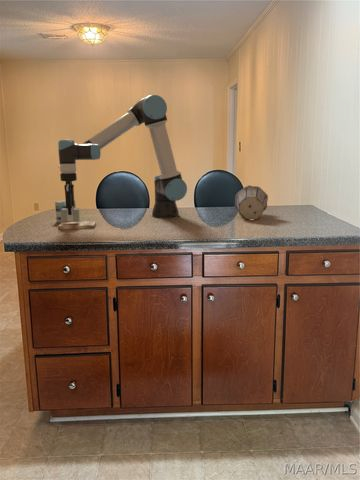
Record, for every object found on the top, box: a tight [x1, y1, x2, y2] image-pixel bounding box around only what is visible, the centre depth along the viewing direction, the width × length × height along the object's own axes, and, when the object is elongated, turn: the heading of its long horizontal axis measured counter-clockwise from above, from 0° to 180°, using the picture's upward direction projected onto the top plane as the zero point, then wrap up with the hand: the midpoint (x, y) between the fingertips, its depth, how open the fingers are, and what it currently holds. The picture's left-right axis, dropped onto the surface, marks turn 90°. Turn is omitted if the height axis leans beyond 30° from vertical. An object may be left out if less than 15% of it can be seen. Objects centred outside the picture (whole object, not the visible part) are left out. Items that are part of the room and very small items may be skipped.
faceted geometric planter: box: [234, 185, 269, 220], centre depth 229 cm, size 18×18×30 cm
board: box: [57, 220, 97, 230], centre depth 205 cm, size 17×11×2 cm, turn 97°
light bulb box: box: [54, 199, 76, 223], centre depth 220 cm, size 11×7×11 cm, turn 168°
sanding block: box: [61, 207, 81, 222], centre depth 203 cm, size 8×5×6 cm, turn 97°
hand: (71, 220), depth 204 cm, fingers closed on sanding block, 5 cm apart
